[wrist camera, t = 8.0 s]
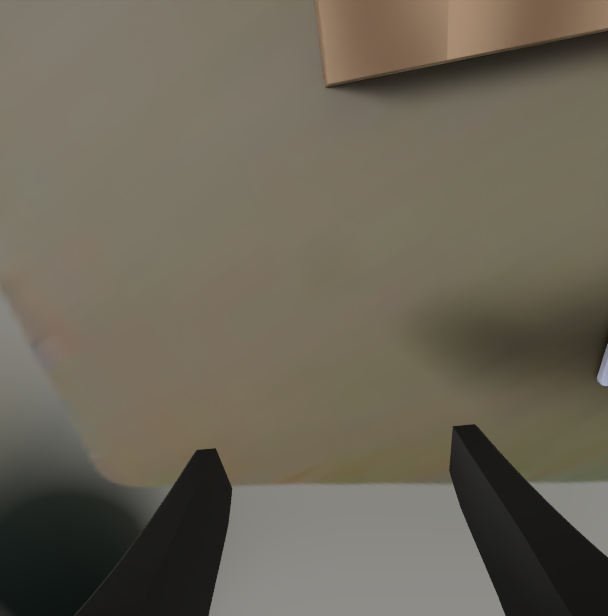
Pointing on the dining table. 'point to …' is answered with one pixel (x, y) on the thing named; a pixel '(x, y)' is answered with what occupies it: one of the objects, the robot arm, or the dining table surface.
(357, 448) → the dining table surface
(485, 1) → the well block
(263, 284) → the dining table surface
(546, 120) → the dining table surface
